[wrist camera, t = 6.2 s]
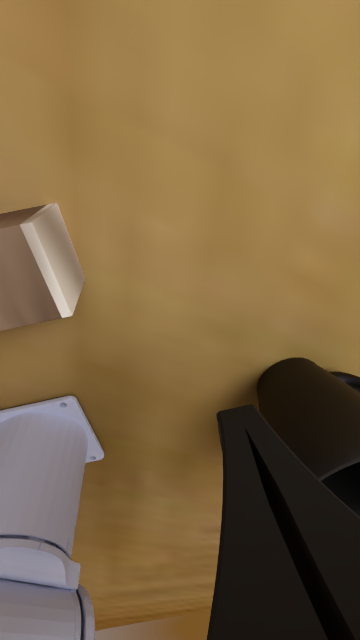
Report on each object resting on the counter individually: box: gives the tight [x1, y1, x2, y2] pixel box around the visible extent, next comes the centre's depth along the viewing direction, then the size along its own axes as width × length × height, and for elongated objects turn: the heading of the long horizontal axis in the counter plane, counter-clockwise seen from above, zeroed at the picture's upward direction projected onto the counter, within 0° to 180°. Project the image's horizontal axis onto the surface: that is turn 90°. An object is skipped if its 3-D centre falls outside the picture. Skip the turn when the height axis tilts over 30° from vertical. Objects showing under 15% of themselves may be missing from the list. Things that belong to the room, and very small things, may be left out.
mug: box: [257, 358, 360, 517], centre depth 21 cm, size 8×12×10 cm
